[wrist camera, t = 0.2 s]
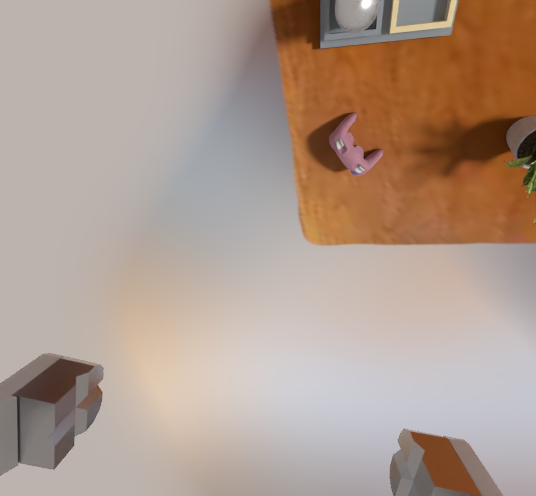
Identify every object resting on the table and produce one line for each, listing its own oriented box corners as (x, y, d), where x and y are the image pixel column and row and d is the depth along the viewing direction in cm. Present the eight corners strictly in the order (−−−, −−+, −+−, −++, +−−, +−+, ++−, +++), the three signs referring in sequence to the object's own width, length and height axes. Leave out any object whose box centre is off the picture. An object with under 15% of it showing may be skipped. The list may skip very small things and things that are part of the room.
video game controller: (335, 120, 56) (320, 144, 53) (355, 107, 52) (340, 133, 49) (366, 160, 60) (353, 185, 57) (386, 151, 56) (374, 177, 53)
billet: (330, -11, 42) (330, -10, 35) (368, -29, 41) (376, -32, 33) (339, 30, 45) (340, 40, 38) (375, 15, 43) (383, 22, 36)
